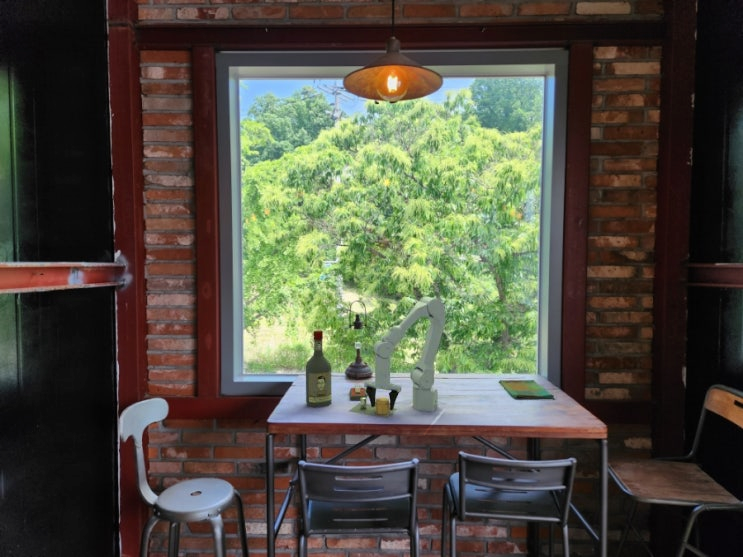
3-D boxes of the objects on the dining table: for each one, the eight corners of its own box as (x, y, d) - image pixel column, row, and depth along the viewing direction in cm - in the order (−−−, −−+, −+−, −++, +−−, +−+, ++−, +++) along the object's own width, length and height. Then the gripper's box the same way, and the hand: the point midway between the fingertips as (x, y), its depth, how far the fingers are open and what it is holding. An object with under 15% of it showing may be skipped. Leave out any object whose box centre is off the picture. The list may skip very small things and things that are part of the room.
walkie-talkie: (371, 404, 176) (369, 388, 196) (371, 393, 175) (369, 379, 195) (349, 404, 175) (350, 388, 195) (349, 394, 175) (350, 379, 195)
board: (397, 411, 167) (397, 408, 167) (387, 420, 158) (387, 417, 158) (360, 405, 174) (359, 402, 173) (348, 413, 164) (348, 411, 164)
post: (367, 407, 168) (367, 397, 168) (365, 409, 166) (365, 399, 165) (362, 406, 169) (362, 396, 169) (359, 408, 167) (359, 398, 166)
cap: (391, 410, 165) (391, 398, 165) (386, 414, 161) (386, 403, 160) (379, 408, 167) (379, 397, 167) (373, 412, 163) (373, 401, 162)
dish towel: (513, 400, 180) (514, 395, 180) (497, 383, 204) (497, 378, 203) (555, 401, 180) (555, 395, 180) (534, 383, 204) (534, 378, 203)
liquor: (305, 402, 176) (304, 330, 174) (326, 400, 179) (326, 328, 177) (310, 410, 168) (309, 334, 166) (332, 407, 171) (332, 332, 169)
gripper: (360, 373, 162) (360, 408, 163) (396, 377, 156) (396, 414, 157) (368, 368, 169) (368, 402, 170) (403, 372, 163) (403, 408, 164)
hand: (382, 407), depth 164 cm, fingers open, 7 cm apart
